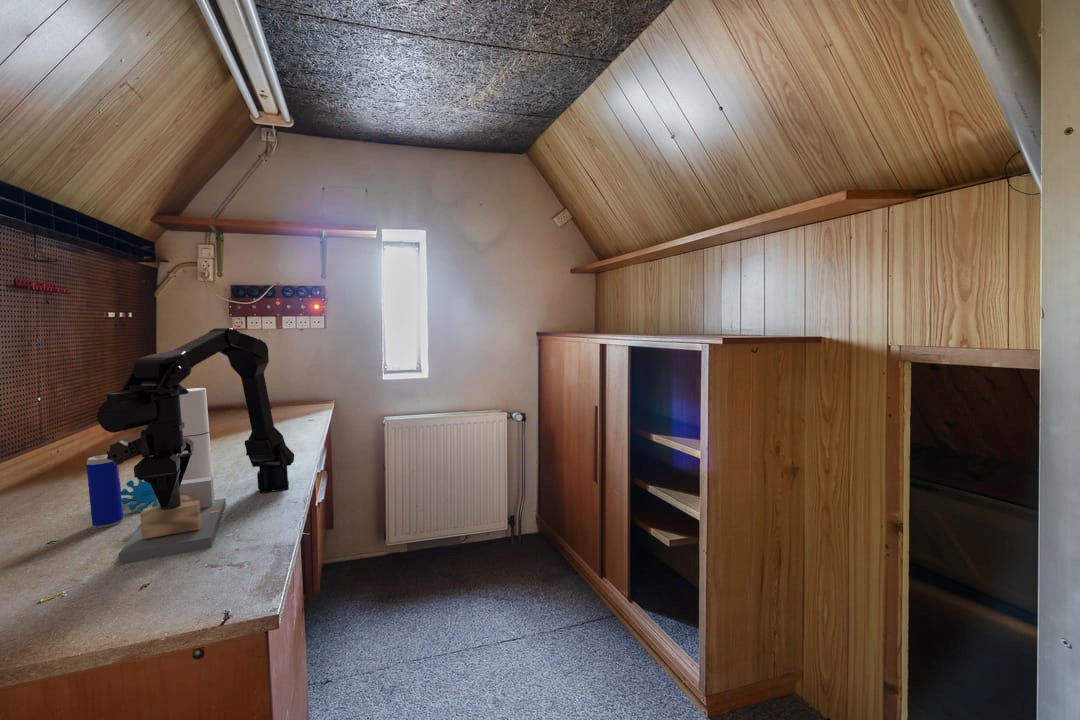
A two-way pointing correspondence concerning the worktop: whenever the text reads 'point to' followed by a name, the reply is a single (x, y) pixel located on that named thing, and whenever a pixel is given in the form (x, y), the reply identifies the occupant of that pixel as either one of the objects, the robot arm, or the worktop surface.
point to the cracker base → (185, 540)
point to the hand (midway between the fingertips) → (170, 498)
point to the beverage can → (104, 491)
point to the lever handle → (171, 517)
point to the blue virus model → (139, 495)
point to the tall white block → (196, 432)
